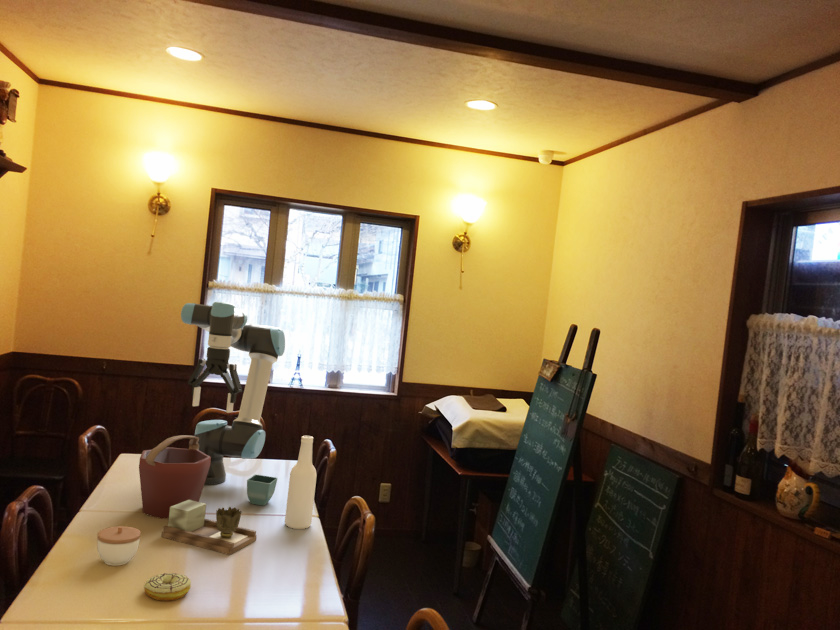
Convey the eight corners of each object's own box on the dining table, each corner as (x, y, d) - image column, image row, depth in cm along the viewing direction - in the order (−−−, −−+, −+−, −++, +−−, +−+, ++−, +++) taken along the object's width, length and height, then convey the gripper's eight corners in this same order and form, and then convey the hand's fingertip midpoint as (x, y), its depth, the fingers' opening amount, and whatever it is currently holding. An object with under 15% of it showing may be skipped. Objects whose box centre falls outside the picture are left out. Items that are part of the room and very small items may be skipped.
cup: (215, 541, 198) (218, 515, 198) (211, 533, 205) (214, 507, 205) (241, 540, 202) (244, 514, 202) (236, 531, 208) (238, 506, 208)
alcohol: (314, 528, 223) (324, 439, 223) (289, 530, 219) (299, 439, 218) (305, 519, 231) (314, 433, 230) (280, 521, 226) (290, 433, 226)
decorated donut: (163, 581, 173) (164, 566, 173) (198, 590, 170) (199, 576, 170) (134, 596, 164) (136, 580, 163) (171, 607, 160) (173, 591, 160)
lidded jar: (90, 556, 183) (94, 522, 182) (132, 551, 189) (135, 518, 189) (99, 571, 174) (103, 536, 174) (142, 565, 181) (146, 531, 180)
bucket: (181, 495, 242) (188, 427, 241) (221, 512, 229) (229, 439, 229) (118, 508, 221) (126, 433, 221) (158, 527, 209) (166, 448, 208)
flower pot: (275, 501, 247) (278, 477, 247) (267, 508, 238) (270, 483, 238) (252, 498, 248) (255, 474, 248) (243, 505, 239) (246, 480, 239)
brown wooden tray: (161, 536, 202) (164, 509, 202) (191, 523, 215) (193, 497, 215) (229, 554, 194) (233, 525, 194) (256, 540, 208) (259, 513, 207)
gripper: (181, 343, 229) (174, 404, 229) (244, 352, 221) (237, 416, 222) (195, 342, 236) (188, 402, 236) (256, 351, 228) (250, 413, 229)
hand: (212, 409), depth 229 cm, fingers open, 13 cm apart
